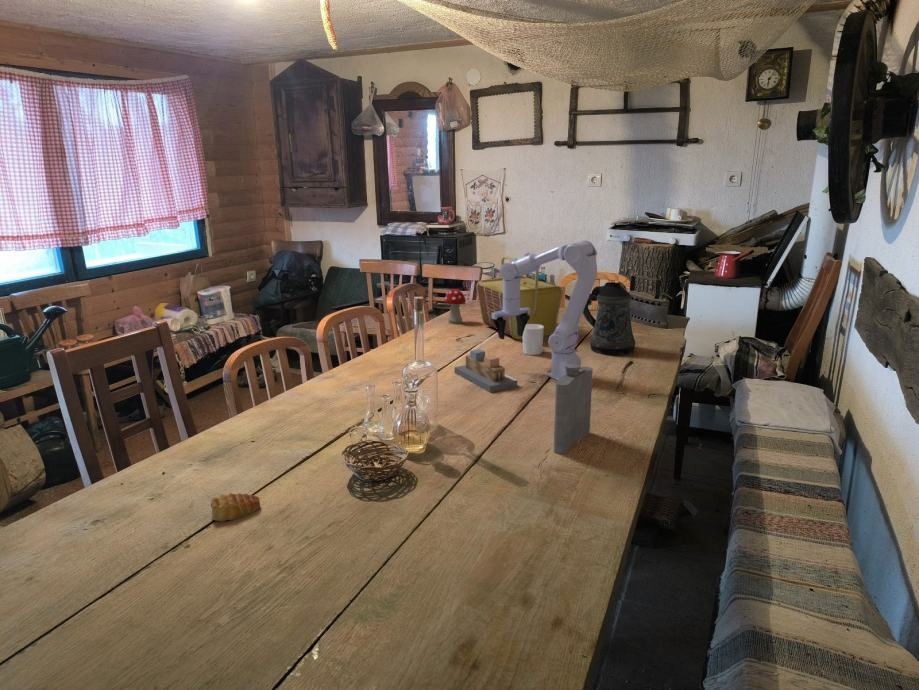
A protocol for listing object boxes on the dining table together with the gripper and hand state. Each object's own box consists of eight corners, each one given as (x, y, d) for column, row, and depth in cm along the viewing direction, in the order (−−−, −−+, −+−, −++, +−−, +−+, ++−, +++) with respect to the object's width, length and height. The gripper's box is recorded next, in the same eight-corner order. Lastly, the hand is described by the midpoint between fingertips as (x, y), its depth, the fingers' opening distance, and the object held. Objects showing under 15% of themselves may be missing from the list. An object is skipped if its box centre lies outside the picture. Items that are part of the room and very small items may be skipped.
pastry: (258, 499, 128) (256, 482, 127) (262, 515, 123) (260, 498, 121) (210, 509, 125) (207, 493, 124) (212, 526, 119) (210, 509, 118)
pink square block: (499, 365, 193) (499, 358, 192) (490, 367, 191) (490, 359, 191) (493, 362, 196) (493, 355, 195) (484, 364, 194) (484, 357, 194)
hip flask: (563, 455, 145) (566, 375, 140) (548, 451, 148) (550, 372, 142) (591, 432, 158) (595, 358, 152) (577, 429, 160) (580, 355, 155)
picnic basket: (475, 326, 265) (474, 257, 257) (526, 320, 276) (527, 253, 267) (508, 343, 240) (508, 266, 232) (563, 335, 250) (566, 261, 242)
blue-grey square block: (485, 358, 200) (485, 351, 199) (476, 360, 198) (476, 353, 198) (479, 356, 203) (479, 349, 202) (470, 357, 201) (470, 350, 200)
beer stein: (639, 356, 221) (644, 287, 214) (585, 356, 222) (588, 288, 215) (628, 343, 237) (632, 279, 230) (578, 343, 237) (580, 279, 231)
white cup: (542, 349, 230) (543, 324, 227) (543, 356, 223) (544, 329, 220) (521, 349, 231) (522, 323, 228) (521, 355, 223) (522, 329, 221)
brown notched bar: (504, 379, 192) (504, 367, 191) (493, 382, 190) (493, 369, 189) (476, 365, 206) (476, 354, 205) (465, 367, 204) (465, 356, 203)
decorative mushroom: (469, 321, 274) (469, 288, 270) (459, 325, 267) (459, 292, 263) (451, 319, 279) (450, 286, 275) (440, 323, 272) (439, 289, 268)
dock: (517, 386, 192) (517, 380, 191) (490, 392, 187) (490, 385, 186) (479, 367, 210) (479, 362, 210) (454, 372, 205) (454, 366, 205)
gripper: (522, 293, 212) (521, 331, 216) (486, 298, 205) (486, 337, 209) (534, 296, 206) (533, 335, 210) (498, 301, 199) (498, 342, 203)
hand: (510, 337), depth 209 cm, fingers open, 7 cm apart
